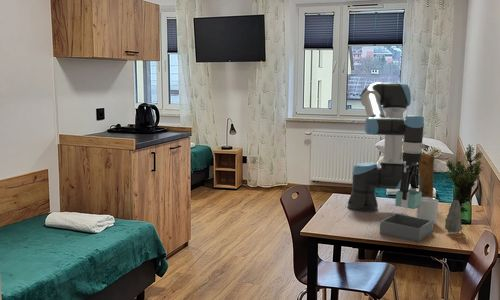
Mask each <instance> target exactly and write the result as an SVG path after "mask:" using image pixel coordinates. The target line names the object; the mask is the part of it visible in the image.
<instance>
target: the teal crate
mask: <svg viewBox="0 0 500 300" xmlns="http://www.w3.org/2000/svg"><path fill="white" fill-rule="evenodd" d="M408 192H409V199H408V208H406V207H404V208H406V209H411V210H415V209H417V207H419V206H421V197H422V192H419V190H416V191H413V190H408ZM395 193H396V194H395V207H401V198H402V191H400V190H398V191H396V192H395ZM401 208H402V207H401Z"/></svg>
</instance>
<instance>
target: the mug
mask: <svg viewBox="0 0 500 300" xmlns="http://www.w3.org/2000/svg"><path fill="white" fill-rule="evenodd" d="M438 208H439V199H437V198H434V197H433V198H429V197H421V206H419V207H417V208H416V217H417V218H422V219H427V220H432V221H433V225H435V224H436V223H437V221H438Z"/></svg>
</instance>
